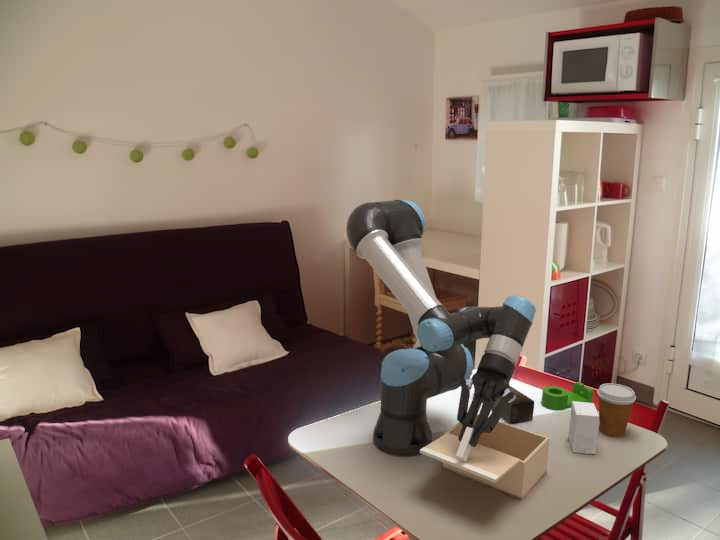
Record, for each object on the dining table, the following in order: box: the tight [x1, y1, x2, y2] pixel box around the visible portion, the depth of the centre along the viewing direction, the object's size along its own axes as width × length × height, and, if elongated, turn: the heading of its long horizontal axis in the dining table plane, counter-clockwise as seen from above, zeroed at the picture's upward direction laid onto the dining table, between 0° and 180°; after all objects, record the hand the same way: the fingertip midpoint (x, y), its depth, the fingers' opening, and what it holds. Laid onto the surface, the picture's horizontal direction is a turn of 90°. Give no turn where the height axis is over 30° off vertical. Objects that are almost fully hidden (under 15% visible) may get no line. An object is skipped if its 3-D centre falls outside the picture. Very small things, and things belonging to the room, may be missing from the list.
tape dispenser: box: [541, 381, 594, 412], centre depth 178 cm, size 15×7×5 cm, turn 114°
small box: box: [568, 401, 600, 455], centre depth 153 cm, size 8×6×10 cm
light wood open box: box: [441, 413, 550, 501], centre depth 142 cm, size 20×14×9 cm
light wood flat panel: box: [420, 433, 520, 483], centre depth 131 cm, size 18×1×12 cm
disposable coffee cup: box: [596, 382, 637, 438], centre depth 161 cm, size 10×10×12 cm
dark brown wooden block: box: [473, 384, 535, 425], centre depth 174 cm, size 8×19×7 cm, turn 21°
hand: (460, 458), depth 126 cm, fingers closed
